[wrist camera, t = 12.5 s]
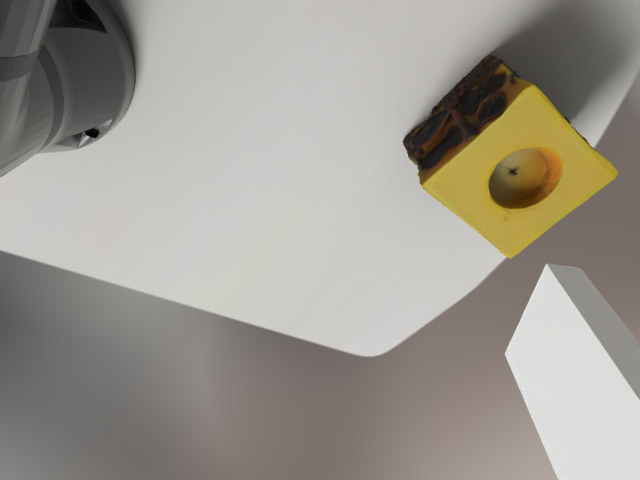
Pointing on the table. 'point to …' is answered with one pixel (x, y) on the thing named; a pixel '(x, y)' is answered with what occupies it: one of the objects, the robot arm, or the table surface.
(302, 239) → the table surface
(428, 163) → the candle
